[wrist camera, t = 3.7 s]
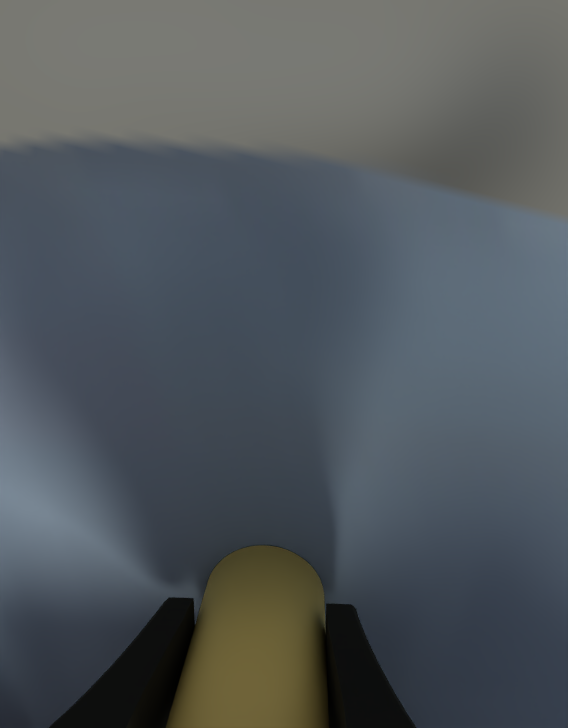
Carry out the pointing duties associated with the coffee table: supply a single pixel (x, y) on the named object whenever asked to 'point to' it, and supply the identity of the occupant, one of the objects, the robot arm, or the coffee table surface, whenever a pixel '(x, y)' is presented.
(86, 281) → the coffee table surface
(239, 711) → the cube joystick
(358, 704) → the robot arm
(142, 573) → the coffee table surface
